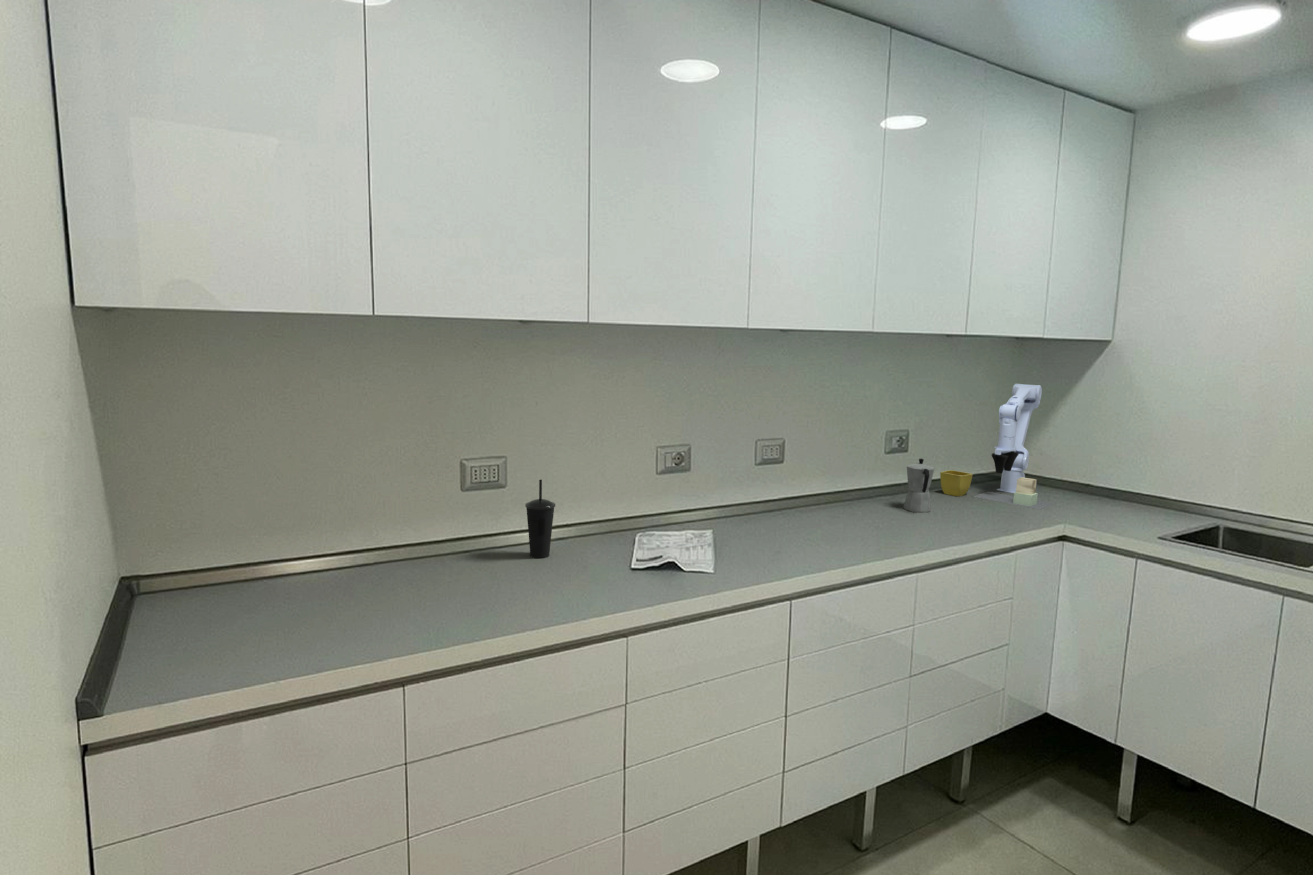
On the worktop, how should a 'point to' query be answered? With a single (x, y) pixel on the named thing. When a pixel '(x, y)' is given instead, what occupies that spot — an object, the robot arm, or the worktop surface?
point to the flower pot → (955, 482)
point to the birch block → (1026, 486)
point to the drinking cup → (540, 525)
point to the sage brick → (1025, 499)
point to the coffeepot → (919, 487)
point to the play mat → (1010, 499)
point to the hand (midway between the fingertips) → (1003, 471)
